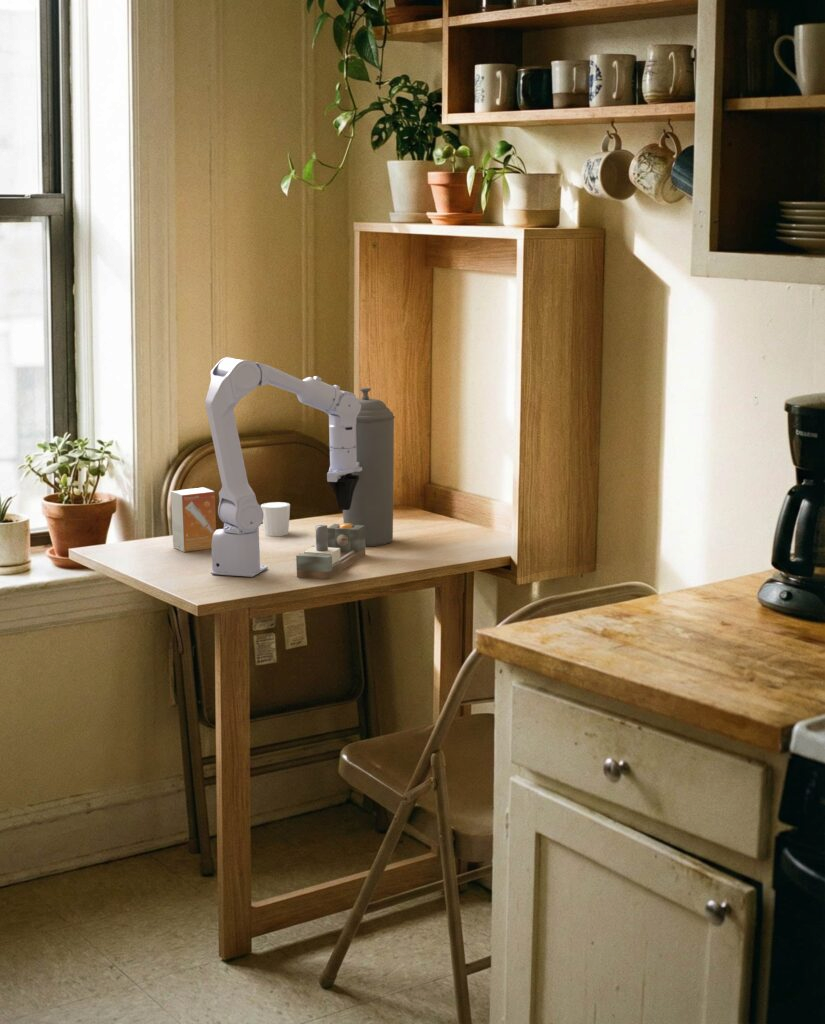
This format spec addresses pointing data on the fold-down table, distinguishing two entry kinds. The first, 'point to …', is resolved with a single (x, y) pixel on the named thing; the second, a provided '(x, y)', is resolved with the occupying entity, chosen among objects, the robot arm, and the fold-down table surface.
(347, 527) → the button
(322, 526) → the carriage
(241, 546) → the robot arm
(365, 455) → the canister
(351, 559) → the rail base
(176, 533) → the small box
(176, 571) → the fold-down table surface
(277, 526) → the white tapered cylinder
